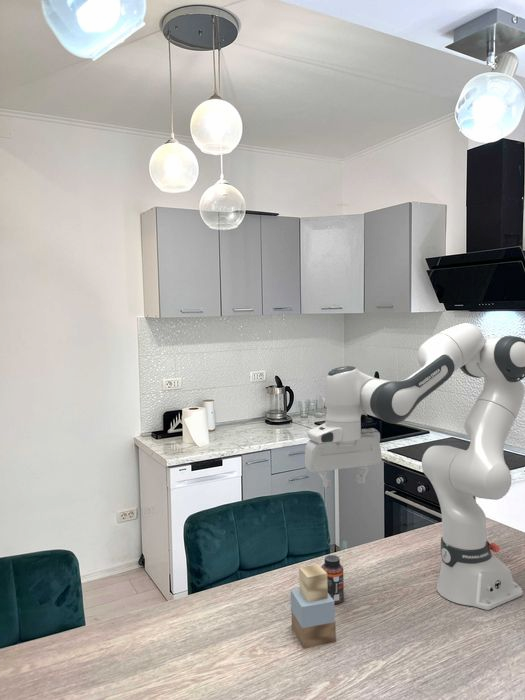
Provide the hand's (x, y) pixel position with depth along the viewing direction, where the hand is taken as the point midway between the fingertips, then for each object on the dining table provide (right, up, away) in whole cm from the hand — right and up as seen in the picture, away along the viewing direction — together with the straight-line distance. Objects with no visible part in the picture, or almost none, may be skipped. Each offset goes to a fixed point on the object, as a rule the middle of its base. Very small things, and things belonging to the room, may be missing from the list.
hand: (344, 484), depth 131 cm
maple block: (-9, -24, -9) cm, 27 cm away
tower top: (-9, -29, -9) cm, 31 cm away
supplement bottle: (-2, -33, +7) cm, 34 cm away
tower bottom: (-9, -34, -8) cm, 36 cm away
